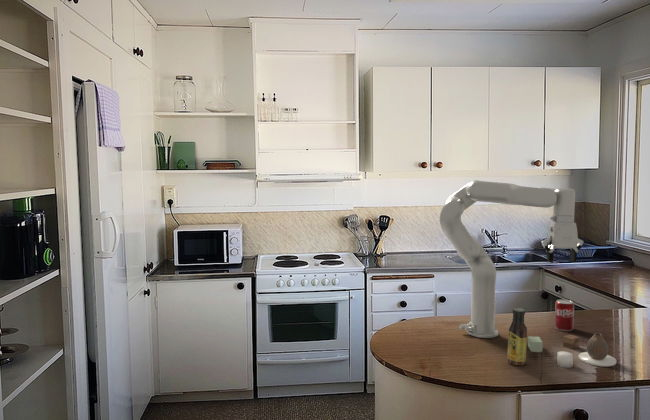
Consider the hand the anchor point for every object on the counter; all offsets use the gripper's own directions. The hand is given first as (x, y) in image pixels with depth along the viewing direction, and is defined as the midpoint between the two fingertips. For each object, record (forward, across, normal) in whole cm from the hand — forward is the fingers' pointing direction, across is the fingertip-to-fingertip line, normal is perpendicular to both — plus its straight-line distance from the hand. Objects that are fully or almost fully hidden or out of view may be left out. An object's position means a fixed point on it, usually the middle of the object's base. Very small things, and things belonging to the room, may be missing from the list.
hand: (561, 261), depth 203 cm
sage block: (+32, -15, -10) cm, 37 cm away
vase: (+31, +1, -23) cm, 39 cm away
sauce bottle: (+32, -29, -22) cm, 49 cm away
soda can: (+32, +9, +11) cm, 35 cm away
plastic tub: (+32, -13, -26) cm, 43 cm away
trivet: (+32, +1, -23) cm, 39 cm away
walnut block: (+32, 0, -9) cm, 33 cm away
